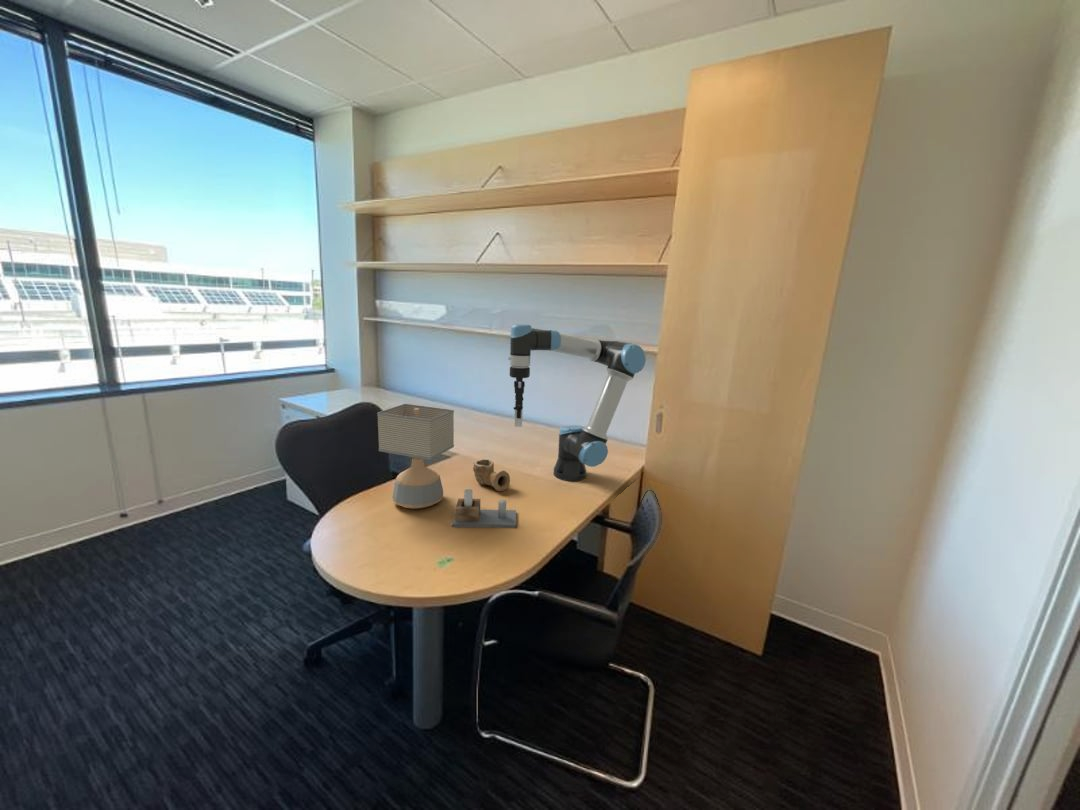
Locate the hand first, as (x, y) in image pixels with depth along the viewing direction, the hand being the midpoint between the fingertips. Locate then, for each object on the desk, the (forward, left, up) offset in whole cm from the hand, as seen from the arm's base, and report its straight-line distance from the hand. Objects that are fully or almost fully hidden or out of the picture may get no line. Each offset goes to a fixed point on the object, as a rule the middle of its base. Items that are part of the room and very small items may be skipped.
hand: (518, 421), depth 165 cm
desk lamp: (+37, +4, -32) cm, 49 cm away
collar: (+17, +18, -31) cm, 39 cm away
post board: (+11, +18, -32) cm, 38 cm away
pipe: (+11, -11, -32) cm, 36 cm away
